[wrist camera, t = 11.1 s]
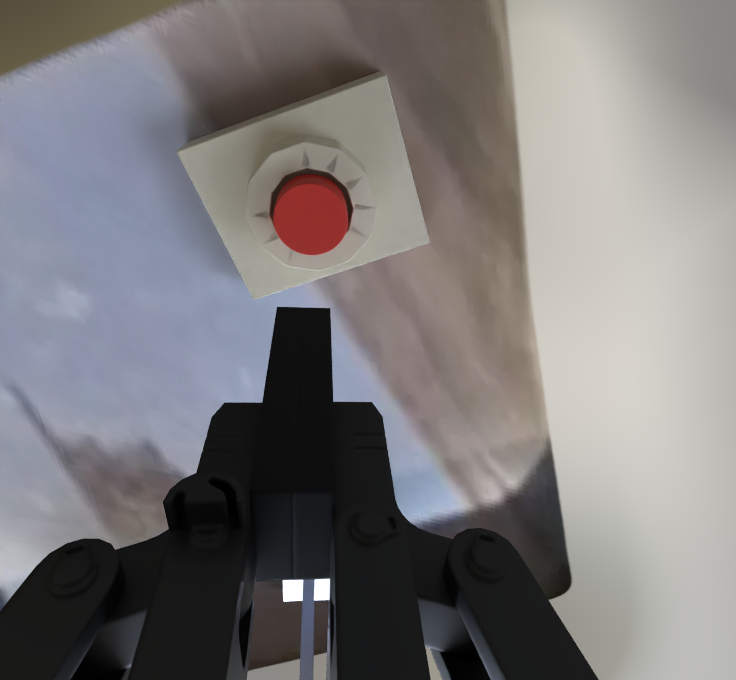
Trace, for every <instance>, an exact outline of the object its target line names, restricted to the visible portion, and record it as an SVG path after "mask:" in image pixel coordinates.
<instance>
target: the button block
mask: <svg viewBox="0 0 736 680" xmlns="http://www.w3.org/2000/svg"><path fill="white" fill-rule="evenodd" d="M177 154H178V155H179V157H180V159H181V161H182V163H183V165H184V167H185V169H186V171H187V173H188V175H189V177H190V179H191V181H192V183H193V184H194V186H195V188H196V190H197V192H198V194H199V196H200V198H201V200H202V202H203V204H204V206H205V208H206V210H207V211H208V213H209V215H210V217H211V219H212V221H213V223H214V225H215V227H216V229H217V231H218V233H219V235H220V237H221V239H222V240H223V242H224V244H225V246H226V248H227V250H228V252H229V254H230V256H231V258H232V260H233V262H234V264H235V266H236V268H237V269H238V271H239V273H240V275H241V277H242V279H243V281H244V283H245V285H246V287H247V289H248V291H249V293H250V295H251V297H252V298H253V300H256V299H259V298H262V297H265V296H268V295H271V294H274V293H277V292H280V291H283V290H286V289H289V288H292V287H295V286H298V285H301V284H305V283H308V282H311V281H314V280H317V279H320V278H323V277H326V276H329V275H332V274H335V273H338V272H341V271H344V270H347V269H350V268H354V267H357V266H360V265H363V264H366V263H369V262H372V261H375V260H378V259H381V258H384V257H387V256H390V255H393V254H396V253H399V252H402V251H406V250H409V249H412V248H415V247H418V246H421V245H424V244H427V243H429V237H428V233H427V229H426V226H425V222H424V218H423V214H422V210H421V206H420V203H419V199H418V195H417V191H416V187H415V183H414V180H413V176H412V172H411V168H410V164H409V160H408V157H407V153H406V149H405V145H404V141H403V137H402V133H401V130H400V126H399V122H398V118H397V114H396V110H395V107H394V103H393V99H392V95H391V91H390V87H389V84H388V80H387V76H386V75H385V74H384V73H383V72H382V71H379V72H376V73H374V74H371V75H368V76H365V77H363V78H360V79H357V80H355V81H352V82H349V83H346V84H344V85H341V86H338V87H336V88H333V89H330V90H327V91H325V92H322V93H319V94H316V95H314V96H311V97H308V98H306V99H303V100H300V101H297V102H295V103H292V104H289V105H287V106H284V107H281V108H278V109H276V110H273V111H270V112H268V113H265V114H262V115H259V116H257V117H254V118H251V119H249V120H246V121H243V122H240V123H238V124H235V125H232V126H230V127H227V128H224V129H221V130H219V131H216V132H213V133H211V134H208V135H205V136H202V137H200V138H197V139H194V140H192V141H189V142H187V143H186V144H185V145H183V146H182V147H181V148H180V149H179V150H178V151H177ZM303 174H317V175H321V176H324V177H326V178H328V179H330V180H331V181H333V182H334V183H335V184H336V185H337V186H338V187H339V188H340V190H341V191H342V193H343V195H344V197H345V200H346V205H347V213H348V228H347V231H346V234H345V236H344V238H343V239H342V241H341V242H340V243H339V244H338V245H337V246H336V247H335V248H334V249H332V250H331V251H329V252H326V253H324V254H320V255H304V254H300V253H298V252H295V251H293V250H292V249H290V248H289V247H287V246H286V245H285V244H284V243H283V242H282V241H281V239H280V238H279V236H278V235H277V233H276V230H275V227H274V221H273V214H274V209H275V205H276V201H277V197H278V194H279V192H280V190H281V189H282V187H283V186H284V185H285V184H286V183H287V182H288V181H289V180H291V179H292V178H294V177H297V176H299V175H303Z"/></svg>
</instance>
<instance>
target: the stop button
mask: <svg viewBox="0 0 736 680" xmlns="http://www.w3.org/2000/svg"><path fill="white" fill-rule="evenodd" d="M273 221H274V227H275V230H276V233H277V235H278V236H279V238H280V239H281V241H282V242H283V243H284V244H285V245H286V246H287V247H289V248H290V249H292V250H293V251H295V252H298V253H300V254H304V255H320V254H324V253H326V252H329V251H331V250H332V249H334V248H335V247H336V246H337V245H338V244H339V243H340V242H341V241H342V239H343V238H344V236H345V234H346V231H347V228H348V213H347V205H346V200H345V197H344V195H343V193H342V191H341V190H340V188H339V187H338V186H337V185H336V184H335V183H334V182H333V181H331V180H330V179H328V178H326V177H324V176H321V175H317V174H303V175H299V176H297V177H294V178H292V179H291V180H289V181H288V182H287V183H286V184H285V185H284V186H283V187H282V189H281V190H280V192H279V194H278V197H277V201H276V205H275V209H274V214H273Z"/></svg>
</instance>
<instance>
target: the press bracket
mask: <svg viewBox="0 0 736 680" xmlns="http://www.w3.org/2000/svg"><path fill="white" fill-rule="evenodd" d="M329 585H330V579H312V580H283V601H302V623H301V653H300V680H313V658H314V600H329Z"/></svg>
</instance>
